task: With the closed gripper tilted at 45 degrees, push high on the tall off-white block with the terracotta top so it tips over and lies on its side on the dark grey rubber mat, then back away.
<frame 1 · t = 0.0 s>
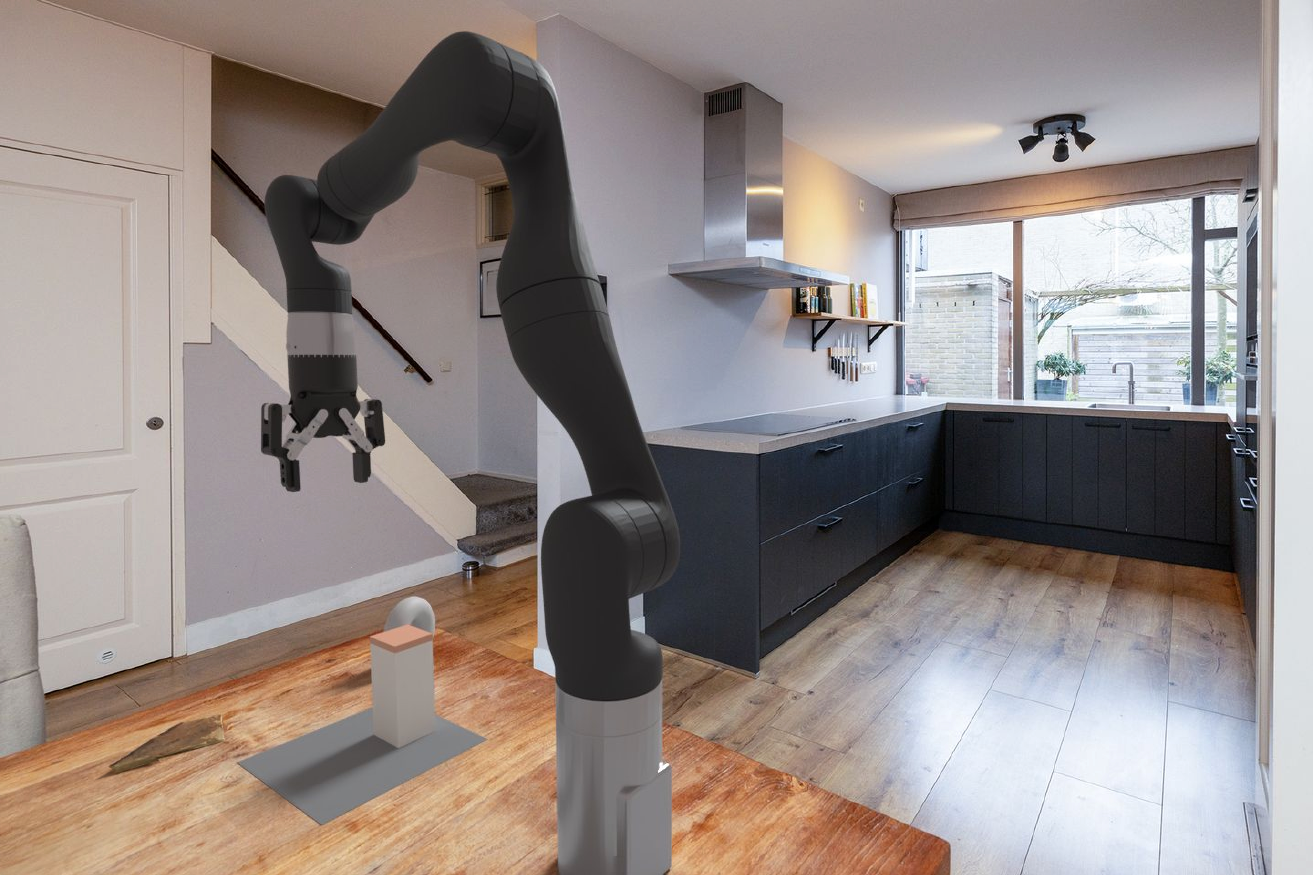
hand: (328, 486, 89), 29 cm above the table, tool pointing down, fingers open, 8 cm apart
block: (404, 732, 86), resting on mat
mat: (366, 754, 83), on the table
shard: (184, 754, 84), on the table
donut: (410, 664, 108), on the table
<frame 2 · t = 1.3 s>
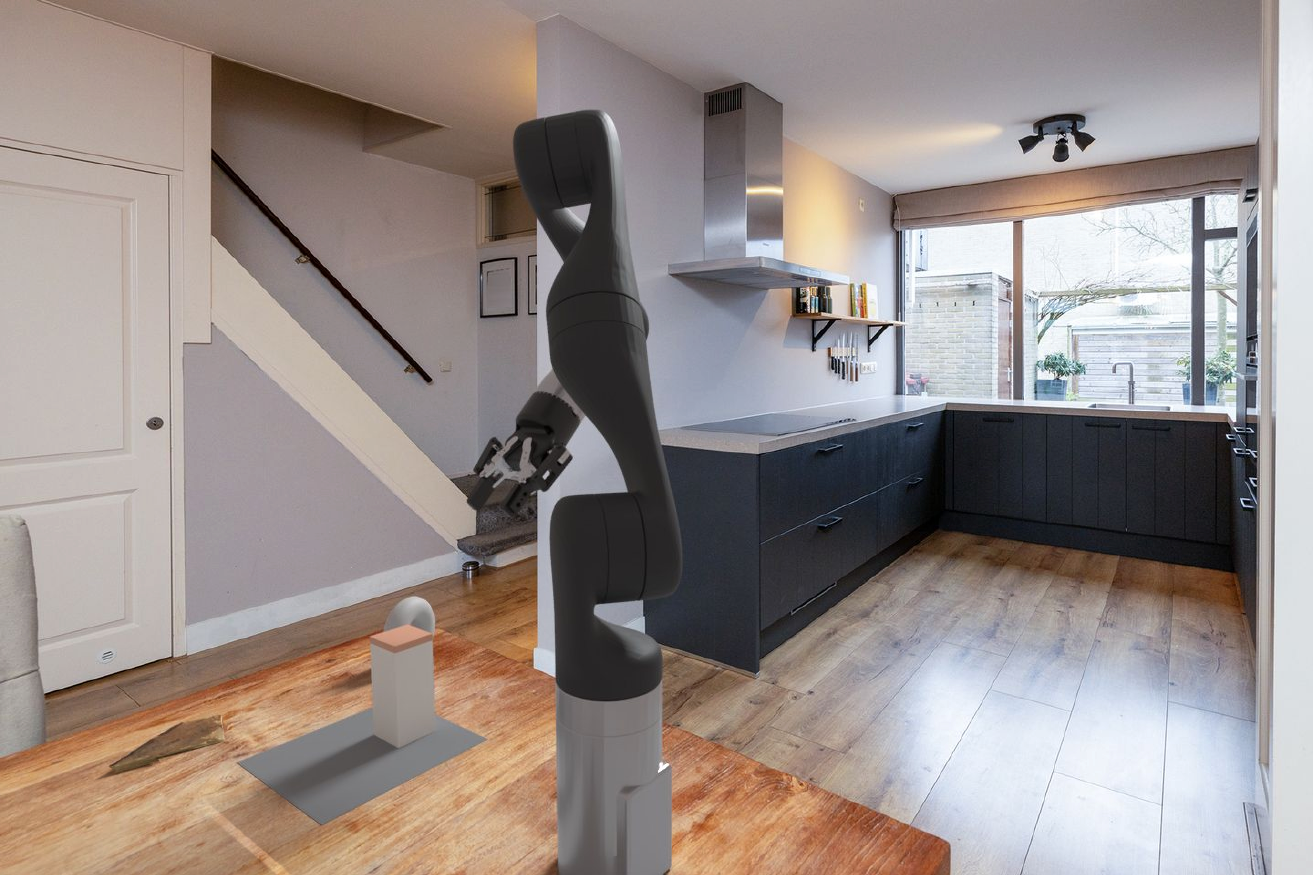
hand: (489, 509, 90), 26 cm above the table, tool tilted 45°, fingers open, 5 cm apart
nothing on the table moved.
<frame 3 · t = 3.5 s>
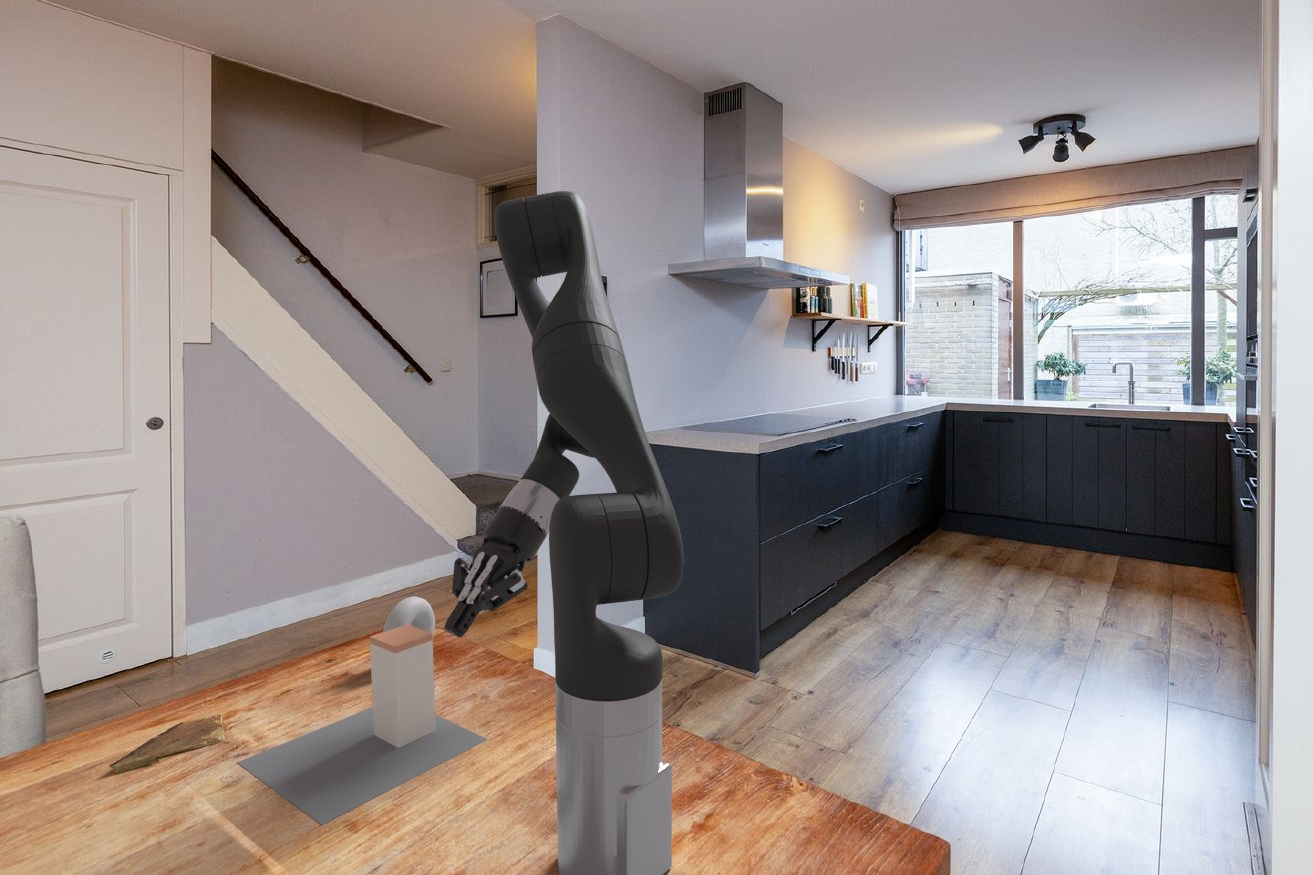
hand: (452, 633, 91), 11 cm above the table, tool tilted 45°, fingers closed
nothing on the table moved.
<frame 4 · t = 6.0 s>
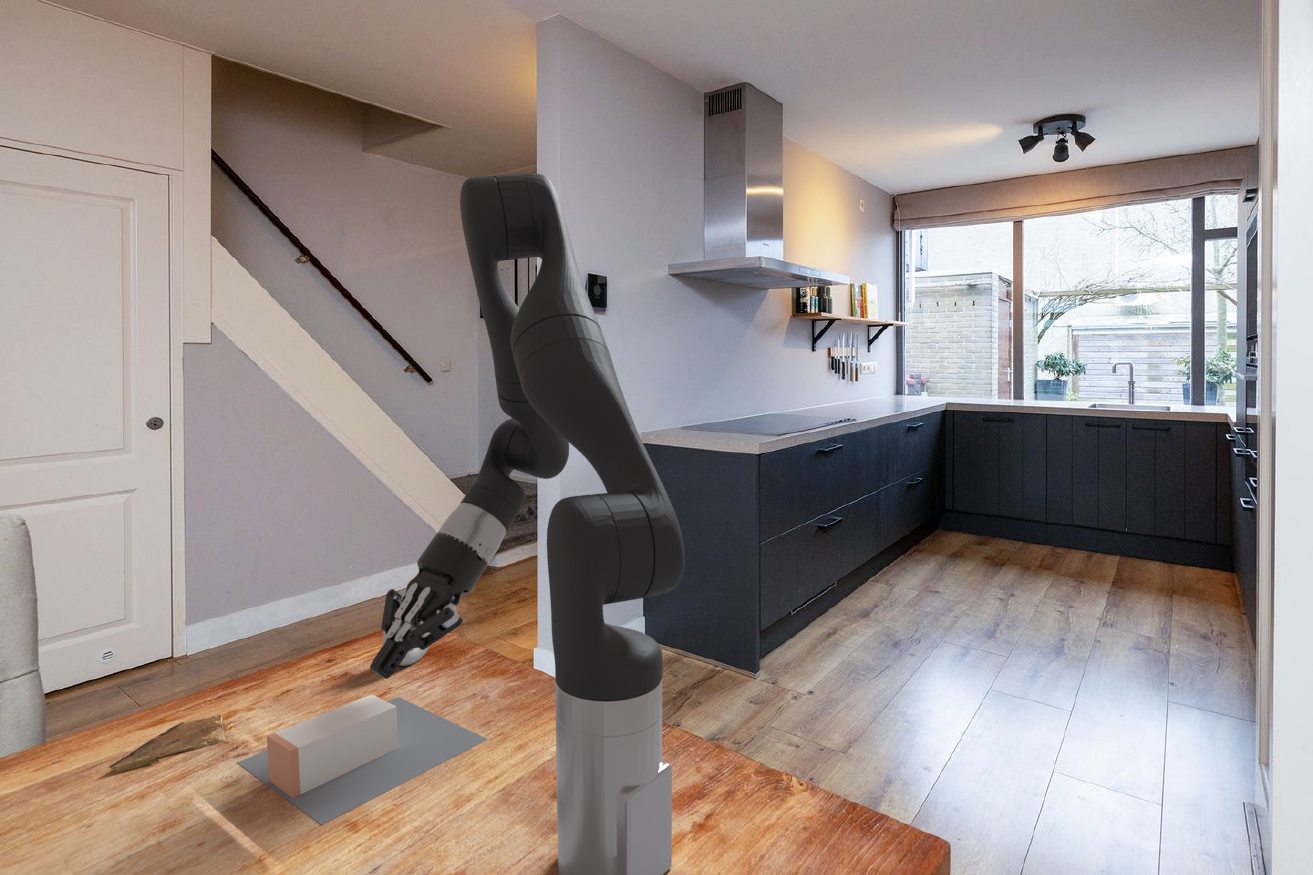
hand: (378, 674, 83), 9 cm above the table, tool tilted 45°, fingers closed
block: (384, 720, 84), point 3 cm above the table, tilted 90°, touching mat
everything else where it was.
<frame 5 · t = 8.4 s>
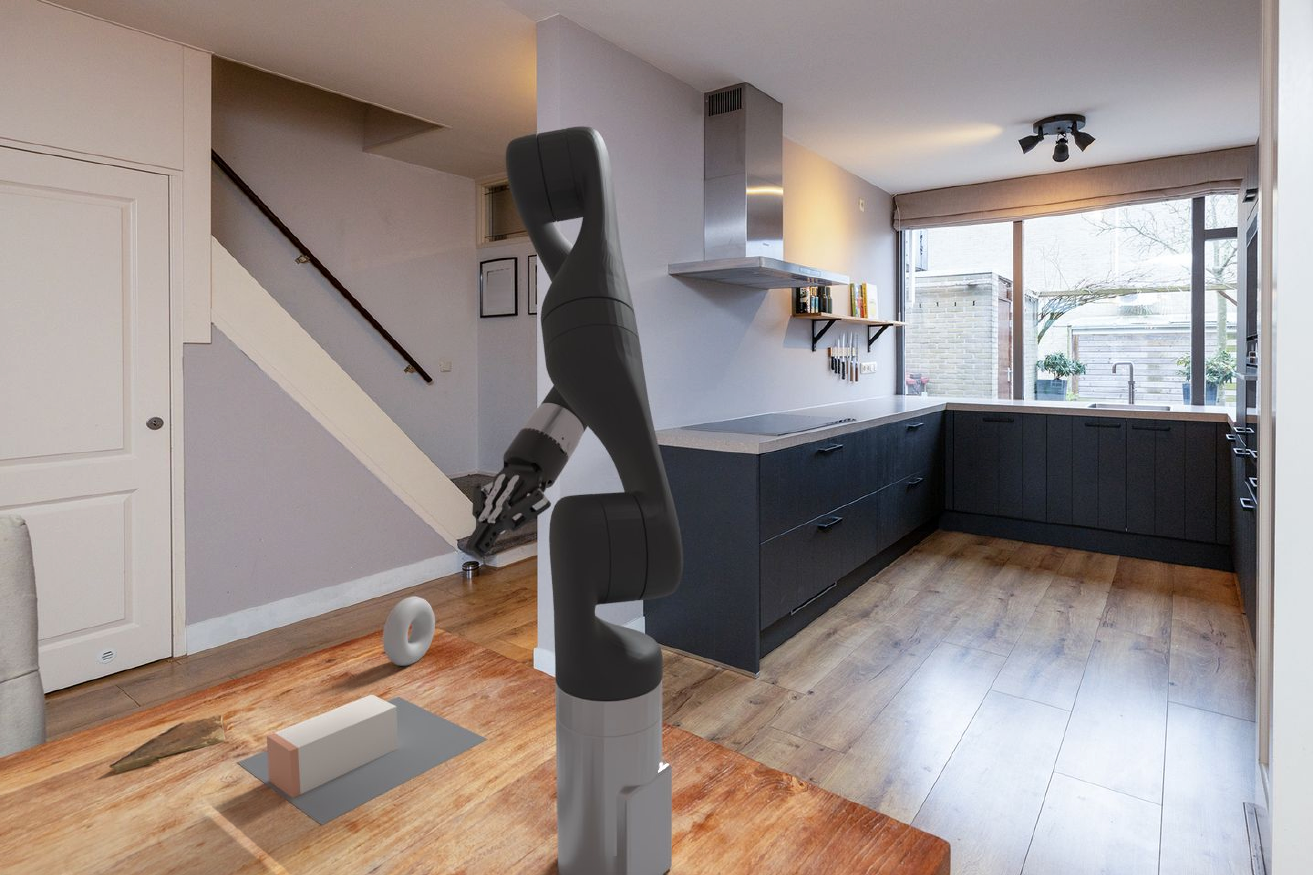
hand: (473, 553, 88), 21 cm above the table, tool tilted 45°, fingers closed
nothing on the table moved.
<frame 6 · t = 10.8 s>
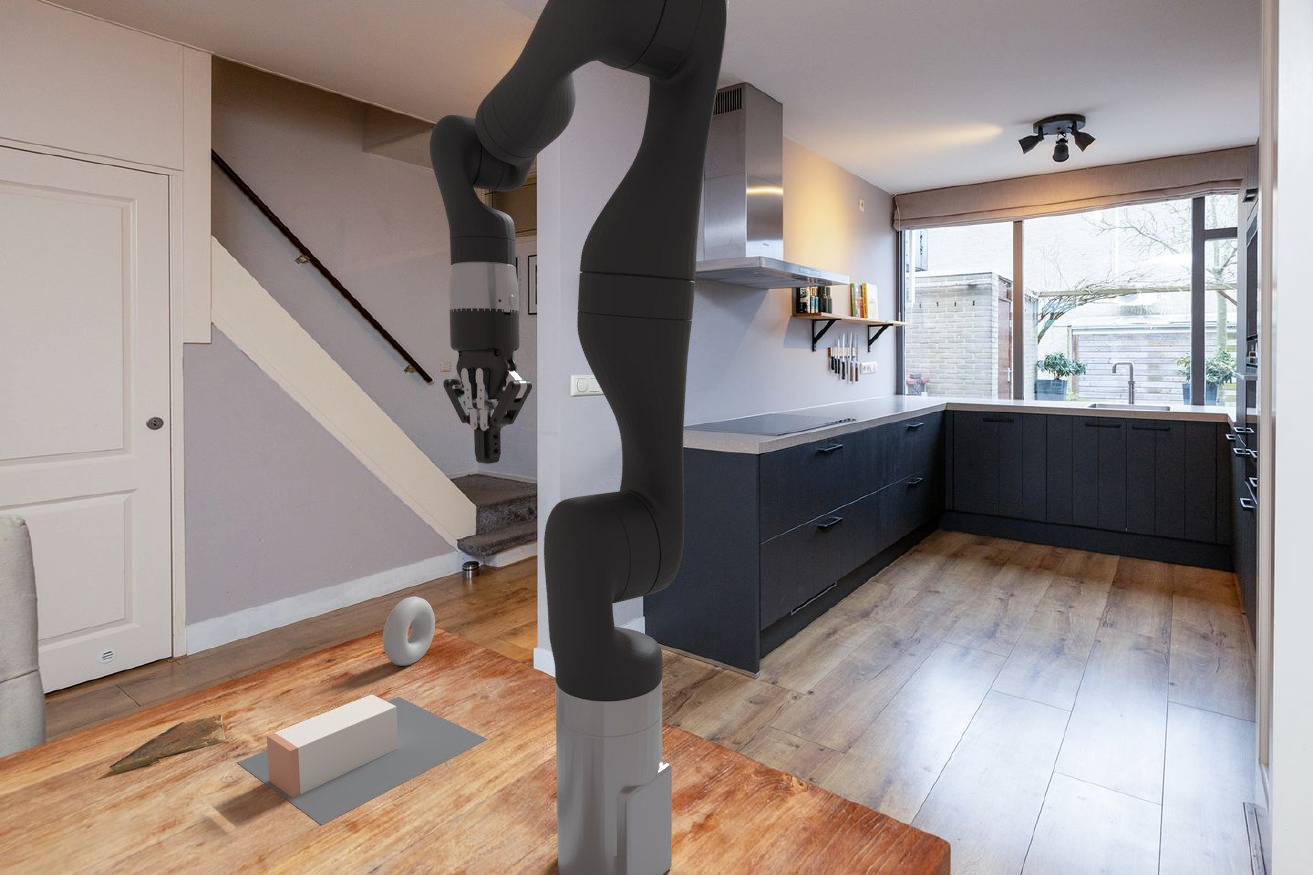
hand: (488, 462, 83), 33 cm above the table, tool pointing down, fingers closed
nothing on the table moved.
at the end: block tilted 90°; block inside the target area (2.0 cm from its centre), point 3.0 cm above the table; the gripper is holding nothing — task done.
